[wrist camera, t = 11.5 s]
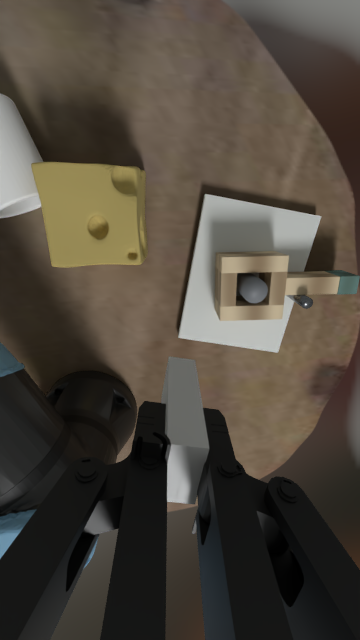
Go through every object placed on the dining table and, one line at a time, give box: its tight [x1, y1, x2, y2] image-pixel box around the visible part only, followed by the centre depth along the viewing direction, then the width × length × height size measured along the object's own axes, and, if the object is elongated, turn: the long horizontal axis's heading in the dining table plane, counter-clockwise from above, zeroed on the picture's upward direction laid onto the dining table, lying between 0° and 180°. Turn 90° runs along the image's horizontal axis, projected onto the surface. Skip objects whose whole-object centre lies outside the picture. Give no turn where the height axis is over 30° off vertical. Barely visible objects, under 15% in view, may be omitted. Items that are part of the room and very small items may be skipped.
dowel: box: [286, 295, 313, 309], centre depth 38 cm, size 1×1×6 cm
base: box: [178, 194, 321, 353], centre depth 38 cm, size 20×16×8 cm
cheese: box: [31, 162, 148, 268], centre depth 33 cm, size 10×11×10 cm
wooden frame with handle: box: [215, 251, 359, 321], centre depth 38 cm, size 18×8×5 cm, turn 91°
